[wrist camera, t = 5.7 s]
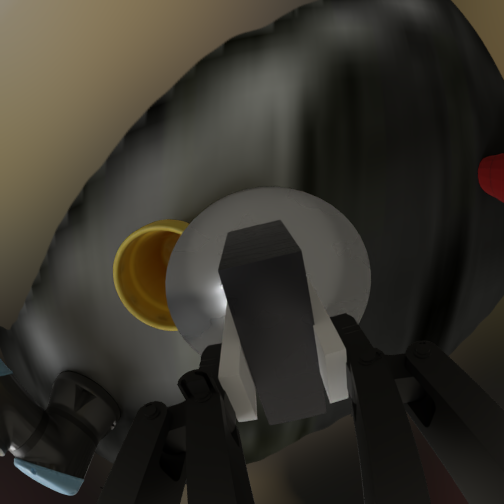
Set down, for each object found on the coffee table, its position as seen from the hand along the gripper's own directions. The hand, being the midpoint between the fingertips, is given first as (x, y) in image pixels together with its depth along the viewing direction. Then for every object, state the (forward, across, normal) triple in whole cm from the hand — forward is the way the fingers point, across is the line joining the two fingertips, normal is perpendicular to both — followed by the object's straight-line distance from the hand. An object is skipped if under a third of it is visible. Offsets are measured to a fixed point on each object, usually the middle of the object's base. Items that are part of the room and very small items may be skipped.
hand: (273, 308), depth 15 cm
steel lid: (+3, 0, 0) cm, 3 cm away
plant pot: (+18, +9, 0) cm, 20 cm away
